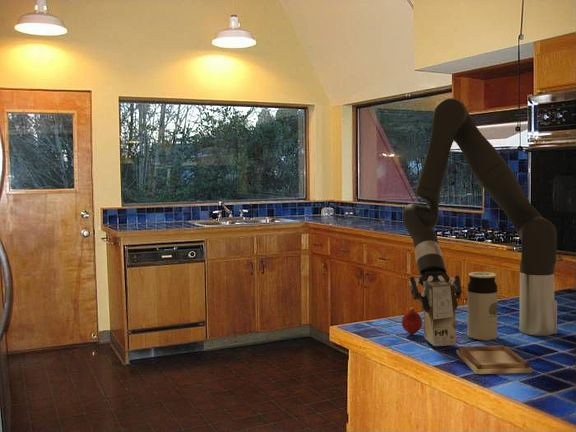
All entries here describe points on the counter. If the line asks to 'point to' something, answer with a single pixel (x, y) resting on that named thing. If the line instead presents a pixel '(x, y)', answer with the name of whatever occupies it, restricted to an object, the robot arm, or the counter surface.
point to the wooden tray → (493, 360)
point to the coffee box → (440, 313)
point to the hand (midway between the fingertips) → (440, 310)
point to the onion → (411, 321)
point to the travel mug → (482, 306)
